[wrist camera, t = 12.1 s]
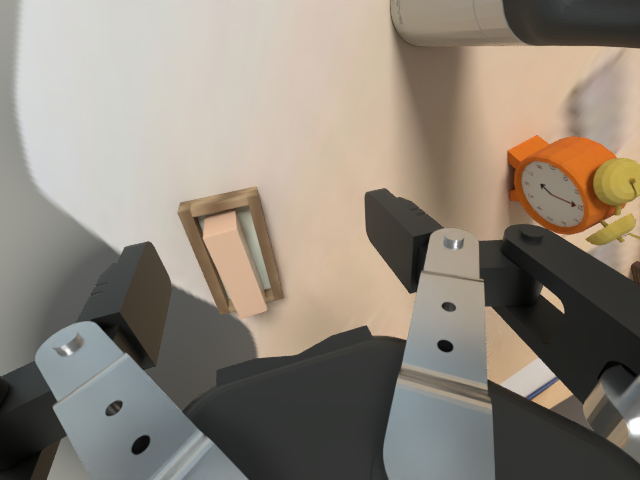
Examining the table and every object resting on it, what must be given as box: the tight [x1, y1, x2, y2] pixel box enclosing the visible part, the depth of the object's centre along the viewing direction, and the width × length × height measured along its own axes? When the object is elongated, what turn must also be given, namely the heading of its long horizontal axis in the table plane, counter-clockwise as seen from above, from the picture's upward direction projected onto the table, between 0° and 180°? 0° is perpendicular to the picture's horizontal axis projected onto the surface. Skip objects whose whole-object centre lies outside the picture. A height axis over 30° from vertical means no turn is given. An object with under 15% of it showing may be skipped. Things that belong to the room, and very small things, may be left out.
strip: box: [203, 208, 268, 319], centre depth 43 cm, size 4×14×6 cm, turn 11°
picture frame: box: [178, 187, 284, 315], centre depth 45 cm, size 10×18×3 cm, turn 7°
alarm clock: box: [508, 135, 640, 245], centre depth 45 cm, size 13×6×20 cm, turn 25°
